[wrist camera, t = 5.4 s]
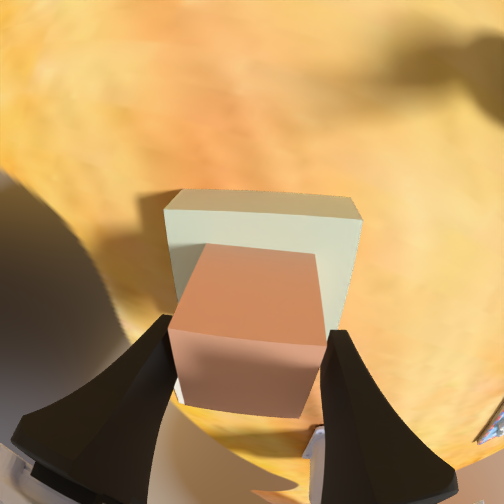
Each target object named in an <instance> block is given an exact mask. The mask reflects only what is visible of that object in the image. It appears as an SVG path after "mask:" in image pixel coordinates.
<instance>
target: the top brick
mask: <svg viewBox="0 0 504 504" xmlns="http://www.w3.org/2000/svg"><path fill="white" fill-rule="evenodd" d="M168 333H169V338H170V343H171V348H172V352H173V357H174V362H175V366H176V371H177V375H178V379H179V383H180V387H181V392H182V396H183V399H184V403H185V405H188V406H193V407H199V408H204V409H210V410H217V411H224V412H231V413H238V414H247V415H256V416H267V417H280V418H298V419H299V418H300V416H301V413H302V411H303V408H304V406H305V404H306V401H307V399H308V396H309V394H310V391H311V389H312V386H313V383H314V381H315V378H316V376H317V373H318V370H319V368H320V365H321V362H322V359H323V356H324V354H325V351H326V348H327V340H326V332H325V323H324V315H323V307H322V300H321V292H320V285H319V278H318V271H317V265H316V258H315V254H311V253H301V252H291V251H281V250H271V249H261V248H251V247H241V246H230V245H220V244H210V243H206V245H205V247H204V249H203V251H202V253H201V256H200V258H199V260H198V262H197V264H196V266H195V268H194V271H193V273H192V275H191V277H190V279H189V281H188V284H187V286H186V288H185V290H184V292H183V295H182V297H181V299H180V301H179V304H178V306H177V308H176V310H175V313H174V315H173V317H172V319H171V322H170V324H169V326H168Z"/></svg>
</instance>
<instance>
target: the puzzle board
mask: <svg viewBox="0 0 504 504" xmlns="http://www.w3.org/2000/svg"><path fill="white" fill-rule="evenodd" d="M503 434H504V402H503V404H502V405H501V407H500V408H499V410H498V412H497V413H496V414H495V416H494V417H493V419H492V420H491V422H490V423H489V424H488V426H487V427H486V429H485V430H484V431H483V433H482V434H481V435H480V437H479V438H478V439H477V445H480V444H482V443H484V442H486V441H488V440H490V439H492V438H494V437H496V436H498V437H500V436H502V435H503Z"/></svg>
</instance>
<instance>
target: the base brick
mask: <svg viewBox="0 0 504 504" xmlns="http://www.w3.org/2000/svg"><path fill="white" fill-rule="evenodd" d="M163 210H164V218H165V225H166V233H167V240H168V246H169V253H170V259H171V266H172V272H173V278H174V283H175V289H176V294H177V300H178V304H179V301H180V299H181V297H182V295H183V292H184V290H185V288H186V286H187V284H188V281H189V279H190V277H191V275H192V273H193V271H194V268H195V266H196V264H197V262H198V260H199V258H200V256H201V253H202V251H203V249H204V247H205V245H206V243H210V244H220V245H230V246H241V247H251V248H261V249H271V250H281V251H291V252H301V253H311V254H315V258H316V265H317V271H318V278H319V285H320V292H321V300H322V307H323V315H324V323H325V332H326V340H327V339H328V336H329V332H330V330H337V329H338V326H339V322H340V319H341V315H342V311H343V308H344V304H345V300H346V296H347V292H348V288H349V284H350V280H351V275H352V271H353V267H354V262H355V258H356V253H357V248H358V244H359V239H360V234H361V228H362V223H363V219H362V217H361V215H360V213H359V211H358V210H357V208H356V206H355V204H354V202H353V201H352V199H351V198H350V197H340V196H328V195H316V194H302V193H287V192H269V191H248V190H218V189H182V190H181V191H180V192H179V193H178V194H177V195H176V196H175V197H174V198H173V199H172V201H171V202H170V203H169V204H168V205H167V206H166V207H165V208H164V209H163Z"/></svg>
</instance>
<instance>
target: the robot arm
mask: <svg viewBox="0 0 504 504" xmlns="http://www.w3.org/2000/svg"><path fill="white" fill-rule="evenodd" d="M172 317H173V316H171V315H164V314H163V315H161V316H160V317H159V318H158V319H157V320H156V321H155V322H154V323H153V325H152V326H151V327H150V328H149V329H148V330H147V331H146V332H145V333H144V334H143V335H142V336H141V337H140V338H139V339H138V340H137V341H136V342H135V343H134V344H133V345H132V346H131V347H130V348H129V349H128V350H127V351H126V352H125V353H124V354H123V355H122V356H120V357H119V358H118V359H117V360H116V361H115V362H114V363H112V365H110V366H109V367H108V368H107V369H105V370H104V371H103V372H102V373H101V374H99V375H98V376H96V377H95V378H94V379H92V380H91V381H90V382H88V383H87V384H85V385H84V386H82V387H81V388H79V389H78V390H76V391H75V392H73V393H71V394H70V395H68V396H66V397H64V398H63V399H61V400H59V401H57V402H55V403H53V404H51V405H49V406H47V407H44V408H42V409H40V410H37V411H35V412H32V413H29V414H27V415H24V416H23V417H22V418H21V420H20V422H19V424H18V426H17V428H16V430H15V432H14V434H13V436H12V438H11V442H12V444H14V445H15V446H16V447H17V448H18V449H20V450H21V451H22V452H24V453H25V454H26V455H28V456H29V457H30V458H32V459H33V460H35V461H36V462H35V464H34V466H32V465H30V464H29V463H27V462H26V461H25V460H23V459H22V458H21V457H19V456H18V455H17V454H15V453H14V452H12V451H11V450H10V449H8V448H7V447H6V446H4V445H3V444H1V443H0V501H1V502H2V503H3V504H147V496H148V486H149V479H150V472H151V466H152V460H153V455H154V450H155V445H156V441H157V436H158V432H159V428H160V424H161V421H162V418H163V415H164V413H165V410H166V407H167V405H168V402H169V399H170V397H171V394H172V391H173V389H174V386H175V383H176V381H177V378H178V375H177V371H176V366H175V362H174V357H173V352H172V348H171V343H170V338H169V333H168V326H169V324H170V322H171V319H172ZM320 389H321V399H322V410H323V420H324V426H319V427H317V428H316V429H315V431H314V433H313V435H312V437H311V439H310V441H309V443H308V445H307V447H306V449H305V451H304V453H303V454H302V458H305V459H310V484H309V500H310V503H311V504H437V503H439V502H441V501H443V500H445V499H448V498H450V497H452V496H453V495H455V494H457V492H458V491H459V490H458V483H457V477H456V473H455V469H454V468H452V467H451V466H450V465H449V464H447V463H446V462H445V461H443V460H442V459H441V458H440V457H438V456H437V455H436V454H435V453H434V452H433V451H431V450H430V449H429V448H428V447H427V446H426V445H425V444H424V443H423V442H422V441H421V440H420V439H419V438H418V437H417V436H416V435H415V434H414V433H413V432H412V431H411V430H410V428H409V427H408V426H407V425H406V424H405V423H404V422H403V420H402V419H401V418H400V417H399V416H398V414H397V413H396V412H395V410H394V409H393V408H392V406H391V405H390V404H389V402H388V401H387V399H386V398H385V397H384V395H383V394H382V392H381V391H380V389H379V388H378V386H377V384H376V383H375V381H374V380H373V378H372V376H371V375H370V373H369V371H368V369H367V368H366V366H365V364H364V362H363V361H362V359H361V357H360V355H359V353H358V351H357V349H356V348H355V346H354V344H353V342H352V340H351V338H350V336H349V333H348V332H347V331H346V330H330V332H329V336H328V339H327V348H326V351H325V354H324V356H323V359H322V362H321V365H320ZM473 504H484V500H480V501H478V502H476V503H473Z"/></svg>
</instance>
